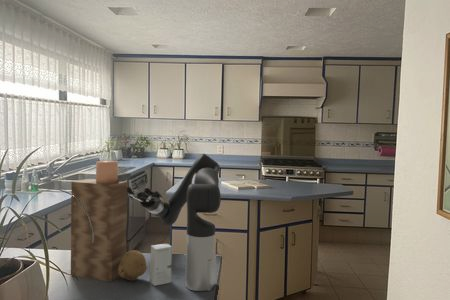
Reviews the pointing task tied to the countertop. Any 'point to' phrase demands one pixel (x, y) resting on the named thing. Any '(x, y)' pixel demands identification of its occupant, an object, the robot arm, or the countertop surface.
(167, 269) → the skincare box
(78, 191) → the stand
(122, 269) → the natural sponge
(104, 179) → the peach cylinder
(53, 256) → the countertop surface
